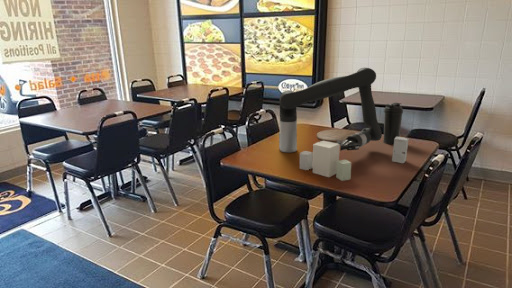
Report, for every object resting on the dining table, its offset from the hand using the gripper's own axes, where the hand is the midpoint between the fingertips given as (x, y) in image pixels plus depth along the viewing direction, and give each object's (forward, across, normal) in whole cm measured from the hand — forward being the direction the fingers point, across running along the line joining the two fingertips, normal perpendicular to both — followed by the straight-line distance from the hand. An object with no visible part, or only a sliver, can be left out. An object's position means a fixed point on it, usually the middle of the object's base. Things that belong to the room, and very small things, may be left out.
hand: (338, 149), depth 177 cm
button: (+8, 0, +3) cm, 8 cm away
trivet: (-44, -28, +10) cm, 53 cm away
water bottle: (-54, +2, +9) cm, 55 cm away
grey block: (+12, -10, +9) cm, 18 cm away
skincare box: (-26, +20, +9) cm, 34 cm away
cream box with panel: (+10, 0, +9) cm, 14 cm away
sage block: (+11, +10, +9) cm, 18 cm away
